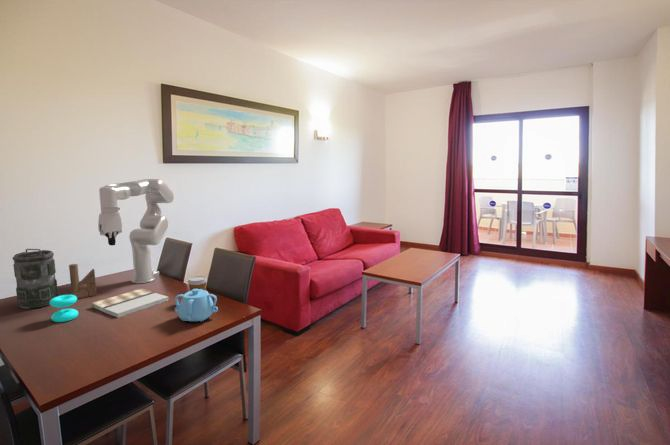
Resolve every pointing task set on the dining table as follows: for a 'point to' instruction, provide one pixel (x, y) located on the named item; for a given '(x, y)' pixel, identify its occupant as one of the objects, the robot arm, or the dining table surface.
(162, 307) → the dining table surface
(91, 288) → the wooden block
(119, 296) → the plank
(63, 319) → the donuts
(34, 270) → the canister
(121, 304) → the board
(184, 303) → the decorative pot
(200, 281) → the glass of beer
